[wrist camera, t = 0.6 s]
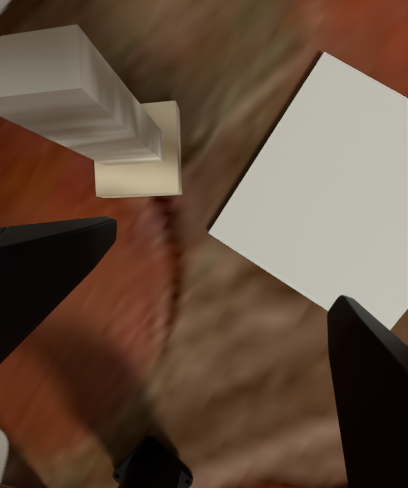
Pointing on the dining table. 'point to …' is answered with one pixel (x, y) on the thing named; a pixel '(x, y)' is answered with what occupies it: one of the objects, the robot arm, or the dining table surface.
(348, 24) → the dining table surface
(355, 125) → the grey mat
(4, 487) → the milk carton
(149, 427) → the dining table surface
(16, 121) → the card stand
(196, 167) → the dining table surface
